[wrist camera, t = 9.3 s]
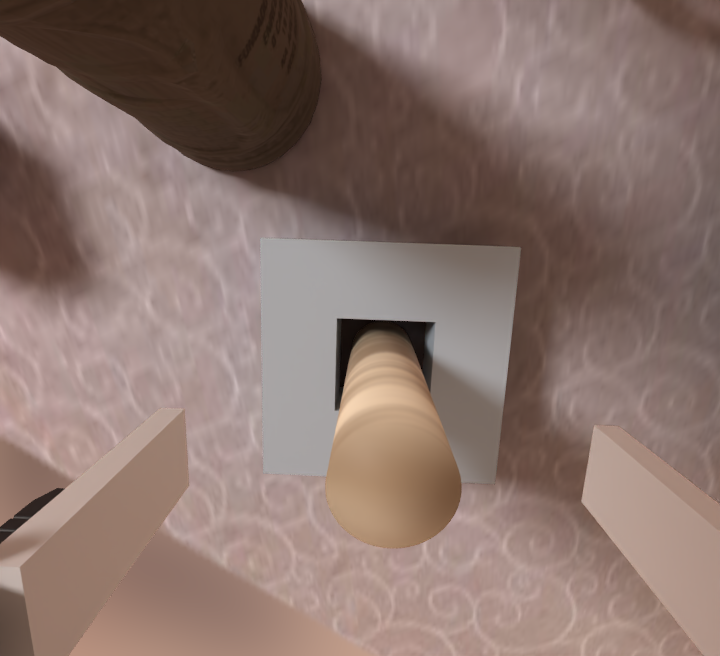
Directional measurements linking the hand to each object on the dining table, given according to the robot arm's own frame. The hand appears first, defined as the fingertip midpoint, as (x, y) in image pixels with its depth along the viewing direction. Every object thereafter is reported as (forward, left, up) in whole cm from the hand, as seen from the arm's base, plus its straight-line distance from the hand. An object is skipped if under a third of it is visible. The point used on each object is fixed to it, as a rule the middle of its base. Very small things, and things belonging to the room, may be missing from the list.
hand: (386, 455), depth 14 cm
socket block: (0, 0, -15) cm, 15 cm away
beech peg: (0, 0, -15) cm, 15 cm away
